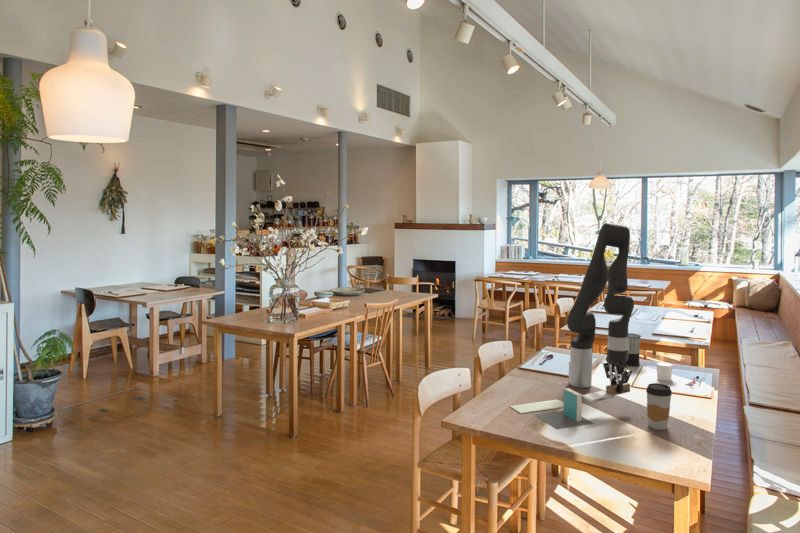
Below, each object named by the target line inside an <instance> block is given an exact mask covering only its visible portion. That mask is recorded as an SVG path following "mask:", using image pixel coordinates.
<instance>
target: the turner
mask: <svg viewBox="0 0 800 533" xmlns="http://www.w3.org/2000/svg"><path fill="white" fill-rule="evenodd" d="M630 392H631V383H629V382H627V383H624V384H623V392H622V393H619V394H618V393H617V384H613V385H611V384H609V385H606V386H605V390H599V391H594V392H590V393H586V394H581V395H582V399H583V400H586V401H587V402H589V403H591V404H592V403H596V402H601V401H606V400H610V399H614V397H615V396H617V395H622V394H626V393H630Z"/></svg>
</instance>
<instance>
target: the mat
mask: <svg viewBox="0 0 800 533" xmlns="http://www.w3.org/2000/svg"><path fill="white" fill-rule="evenodd" d="M533 415H534V416H535V417H536V418H538V419H539V420H540V421H541V422H542V421H543V422H544V423H546V424H547V425H549V426H550V427H552V428H554V429H555V430H563V429H566V428H574V427H580V426H581V427H582V426H587V425H591V424H594V422H592V421H591V420H589V419H587V418H585V417H583V416H582V415H581V421H578V422H577V421H575V420H573V419H571V418H570V417H568V416H566V415H564V409H563V410H557V411H550V412H542V413H536V414H533Z"/></svg>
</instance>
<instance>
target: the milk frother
mask: <svg viewBox="0 0 800 533" xmlns="http://www.w3.org/2000/svg"><path fill="white" fill-rule="evenodd" d="M641 337H642V335H640V334H638V333H633V332H632V333H631V332H628V360H627V361H626V366H629V367H639V365H640V349H641ZM605 361H606V363H607V362H608V361H609V360H608V359H607V356H606V357H605Z"/></svg>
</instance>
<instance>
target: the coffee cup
mask: <svg viewBox="0 0 800 533" xmlns="http://www.w3.org/2000/svg"><path fill="white" fill-rule="evenodd" d="M645 392H646V402H647V403H646V411H647V414H646V416H647V425H648V427H649V428H650V429H652V430H656V431H665V430H666V429H667V428H668V424H669V418H670V409H671V399H672V390H671V386H670V385H667V384H664V383H655V382H653V383H649V384H648V385H647V387H646V391H645Z"/></svg>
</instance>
